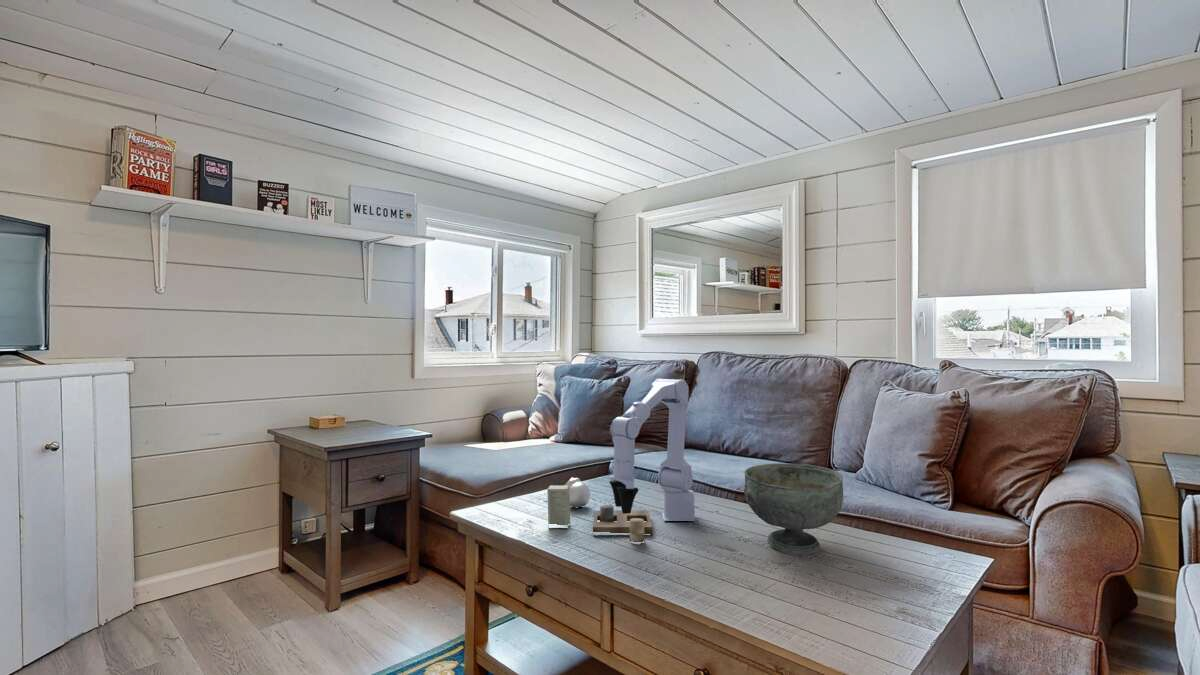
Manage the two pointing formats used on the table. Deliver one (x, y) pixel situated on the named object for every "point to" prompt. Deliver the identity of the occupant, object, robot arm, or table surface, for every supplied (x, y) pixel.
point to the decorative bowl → (794, 502)
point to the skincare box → (558, 504)
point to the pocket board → (619, 520)
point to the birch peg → (637, 530)
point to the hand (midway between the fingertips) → (622, 509)
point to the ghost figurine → (578, 492)
